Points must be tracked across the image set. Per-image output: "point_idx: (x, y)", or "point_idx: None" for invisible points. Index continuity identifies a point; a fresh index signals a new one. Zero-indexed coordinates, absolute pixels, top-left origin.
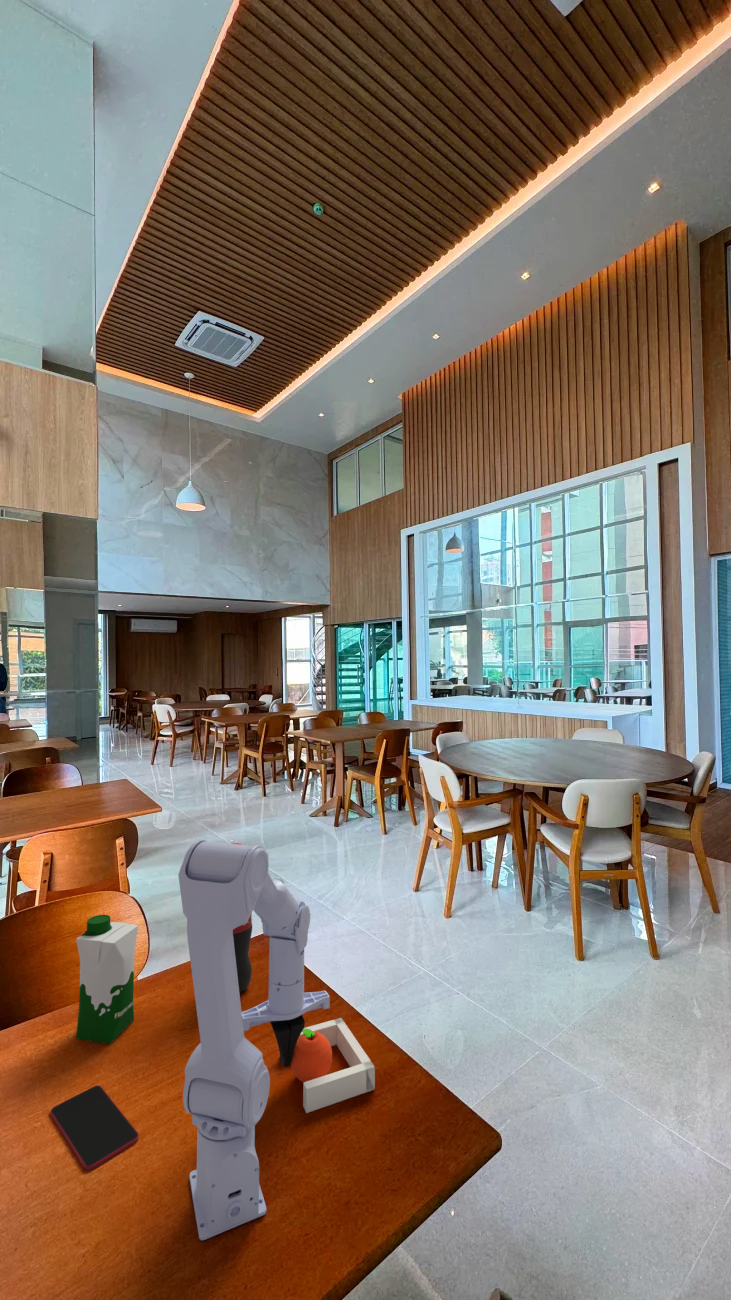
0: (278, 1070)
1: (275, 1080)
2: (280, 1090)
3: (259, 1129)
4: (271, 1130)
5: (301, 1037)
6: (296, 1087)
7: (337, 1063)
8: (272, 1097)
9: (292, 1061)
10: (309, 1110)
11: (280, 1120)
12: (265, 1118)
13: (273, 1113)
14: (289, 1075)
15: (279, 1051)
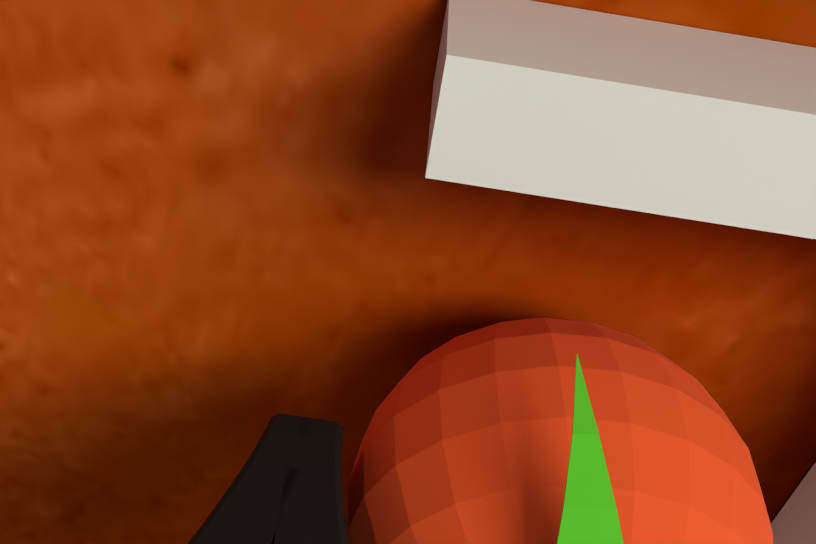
0: (347, 172)
1: (282, 256)
2: (283, 351)
3: (88, 497)
4: (149, 526)
5: None
6: (396, 384)
7: (800, 359)
8: (212, 371)
9: (347, 525)
10: None
11: (210, 507)
12: (133, 464)
13: (186, 461)
14: (405, 269)
15: (246, 463)
